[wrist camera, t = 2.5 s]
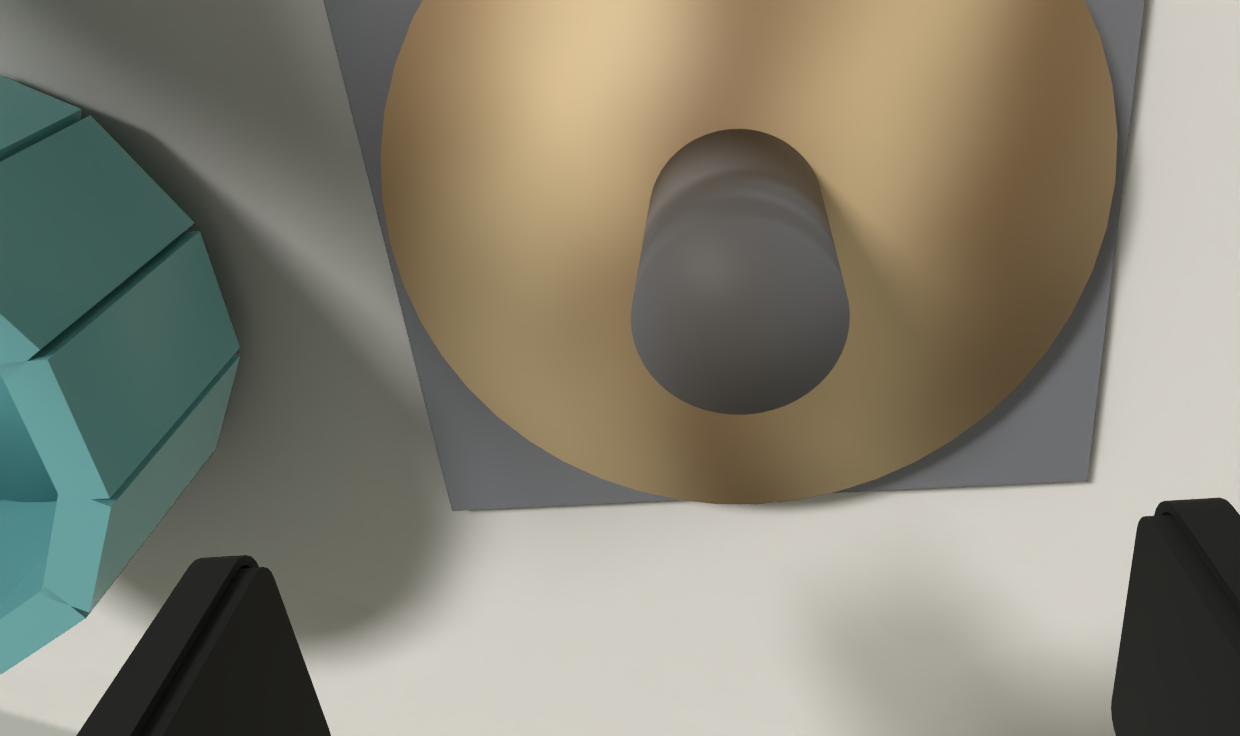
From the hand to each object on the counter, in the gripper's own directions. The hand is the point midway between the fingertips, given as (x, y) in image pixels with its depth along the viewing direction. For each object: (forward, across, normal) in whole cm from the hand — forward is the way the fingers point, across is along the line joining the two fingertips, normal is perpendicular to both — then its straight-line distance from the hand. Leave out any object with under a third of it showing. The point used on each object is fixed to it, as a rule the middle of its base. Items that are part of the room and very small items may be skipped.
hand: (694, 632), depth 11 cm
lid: (+13, -1, 0) cm, 13 cm away
